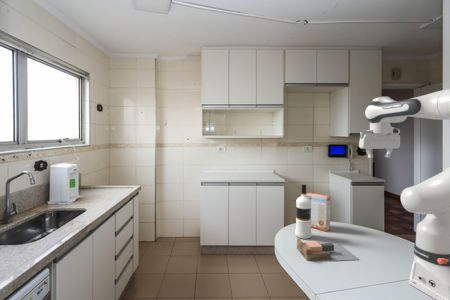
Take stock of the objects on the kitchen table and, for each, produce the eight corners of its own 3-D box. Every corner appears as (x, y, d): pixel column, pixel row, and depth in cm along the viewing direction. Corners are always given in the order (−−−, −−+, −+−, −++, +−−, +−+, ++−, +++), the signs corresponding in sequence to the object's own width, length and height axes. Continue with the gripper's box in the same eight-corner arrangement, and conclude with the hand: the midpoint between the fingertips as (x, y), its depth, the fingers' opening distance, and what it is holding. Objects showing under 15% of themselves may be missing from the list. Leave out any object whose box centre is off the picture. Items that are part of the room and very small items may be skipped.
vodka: (293, 232, 150) (294, 182, 149) (310, 233, 149) (310, 183, 147) (296, 239, 141) (296, 186, 139) (313, 240, 140) (314, 186, 138)
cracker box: (330, 229, 156) (331, 195, 154) (326, 231, 151) (326, 197, 150) (309, 223, 166) (309, 192, 164) (304, 225, 161) (304, 193, 160)
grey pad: (359, 259, 118) (359, 259, 118) (334, 261, 117) (334, 260, 117) (340, 244, 134) (340, 244, 134) (318, 245, 133) (318, 245, 133)
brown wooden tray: (330, 259, 119) (330, 248, 118) (306, 260, 118) (306, 250, 117) (318, 247, 131) (318, 238, 130) (297, 248, 129) (297, 239, 129)
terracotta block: (335, 255, 122) (336, 245, 122) (310, 257, 121) (310, 247, 121) (329, 250, 128) (329, 240, 128) (304, 251, 127) (305, 241, 126)
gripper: (365, 130, 121) (364, 158, 122) (403, 129, 124) (402, 158, 125) (356, 130, 128) (355, 157, 128) (393, 130, 130) (392, 156, 131)
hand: (378, 157), depth 127 cm, fingers open, 8 cm apart
